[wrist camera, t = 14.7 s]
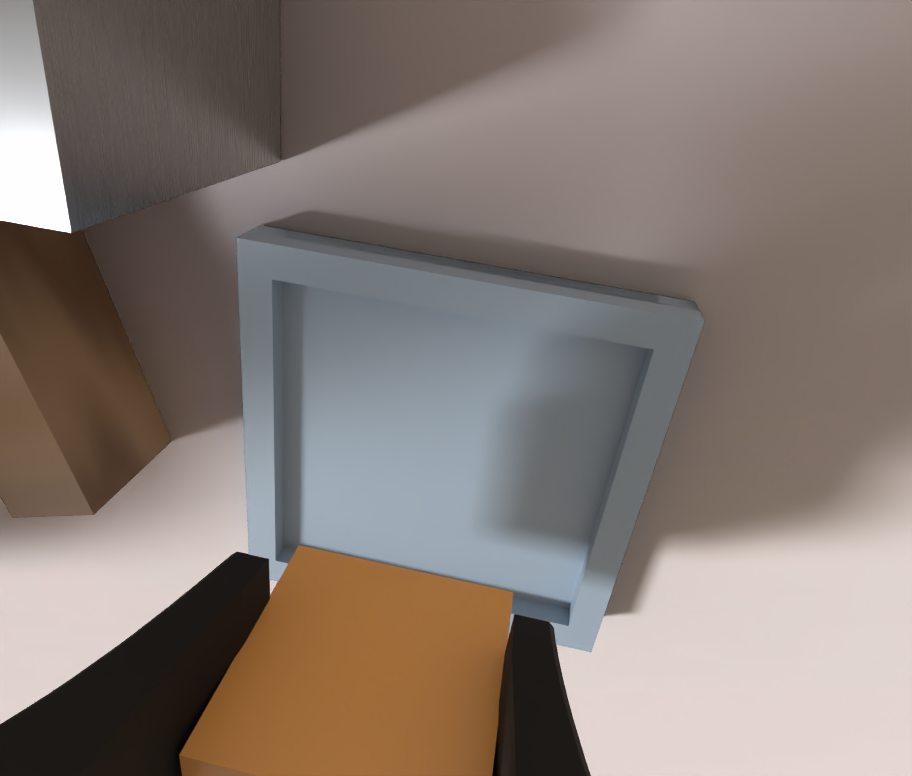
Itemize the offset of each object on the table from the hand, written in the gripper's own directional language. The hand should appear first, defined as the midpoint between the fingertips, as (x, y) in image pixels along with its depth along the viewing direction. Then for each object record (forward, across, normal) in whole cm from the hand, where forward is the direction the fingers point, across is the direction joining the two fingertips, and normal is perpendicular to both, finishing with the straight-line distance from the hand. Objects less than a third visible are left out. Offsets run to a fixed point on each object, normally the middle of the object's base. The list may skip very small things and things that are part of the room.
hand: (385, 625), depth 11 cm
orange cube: (+1, 0, +2) cm, 2 cm away
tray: (+6, 0, 0) cm, 6 cm away
